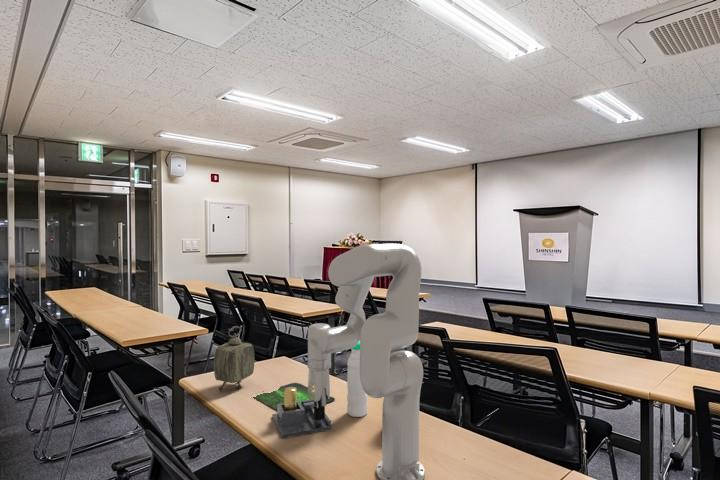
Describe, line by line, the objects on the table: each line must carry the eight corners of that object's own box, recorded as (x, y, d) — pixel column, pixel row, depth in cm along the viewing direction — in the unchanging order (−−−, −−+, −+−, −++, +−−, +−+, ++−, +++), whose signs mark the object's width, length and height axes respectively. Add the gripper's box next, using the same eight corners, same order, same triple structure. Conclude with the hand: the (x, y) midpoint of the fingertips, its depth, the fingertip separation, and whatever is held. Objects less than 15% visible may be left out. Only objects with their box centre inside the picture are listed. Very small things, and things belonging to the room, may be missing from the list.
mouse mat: (248, 396, 160) (248, 394, 160) (294, 382, 175) (294, 380, 175) (288, 419, 140) (288, 416, 140) (337, 401, 156) (337, 398, 156)
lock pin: (321, 420, 136) (321, 412, 136) (314, 421, 136) (314, 413, 135) (314, 409, 145) (314, 402, 145) (307, 410, 144) (307, 403, 144)
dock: (331, 429, 132) (332, 413, 132) (281, 438, 126) (281, 422, 126) (317, 409, 147) (317, 395, 147) (272, 417, 141) (272, 402, 141)
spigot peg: (297, 420, 136) (297, 390, 136) (285, 422, 135) (285, 392, 135) (294, 415, 140) (294, 386, 140) (283, 417, 138) (283, 387, 138)
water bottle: (365, 418, 140) (365, 345, 140) (345, 416, 141) (345, 343, 141) (369, 410, 147) (369, 339, 147) (349, 408, 148) (349, 338, 148)
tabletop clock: (239, 380, 177) (239, 322, 177) (256, 383, 173) (256, 324, 173) (213, 392, 164) (213, 329, 164) (231, 395, 160) (231, 331, 160)
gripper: (302, 357, 140) (302, 411, 140) (314, 370, 126) (314, 430, 126) (323, 355, 143) (323, 408, 143) (337, 368, 129) (337, 426, 129)
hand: (319, 418), depth 134 cm, fingers closed
